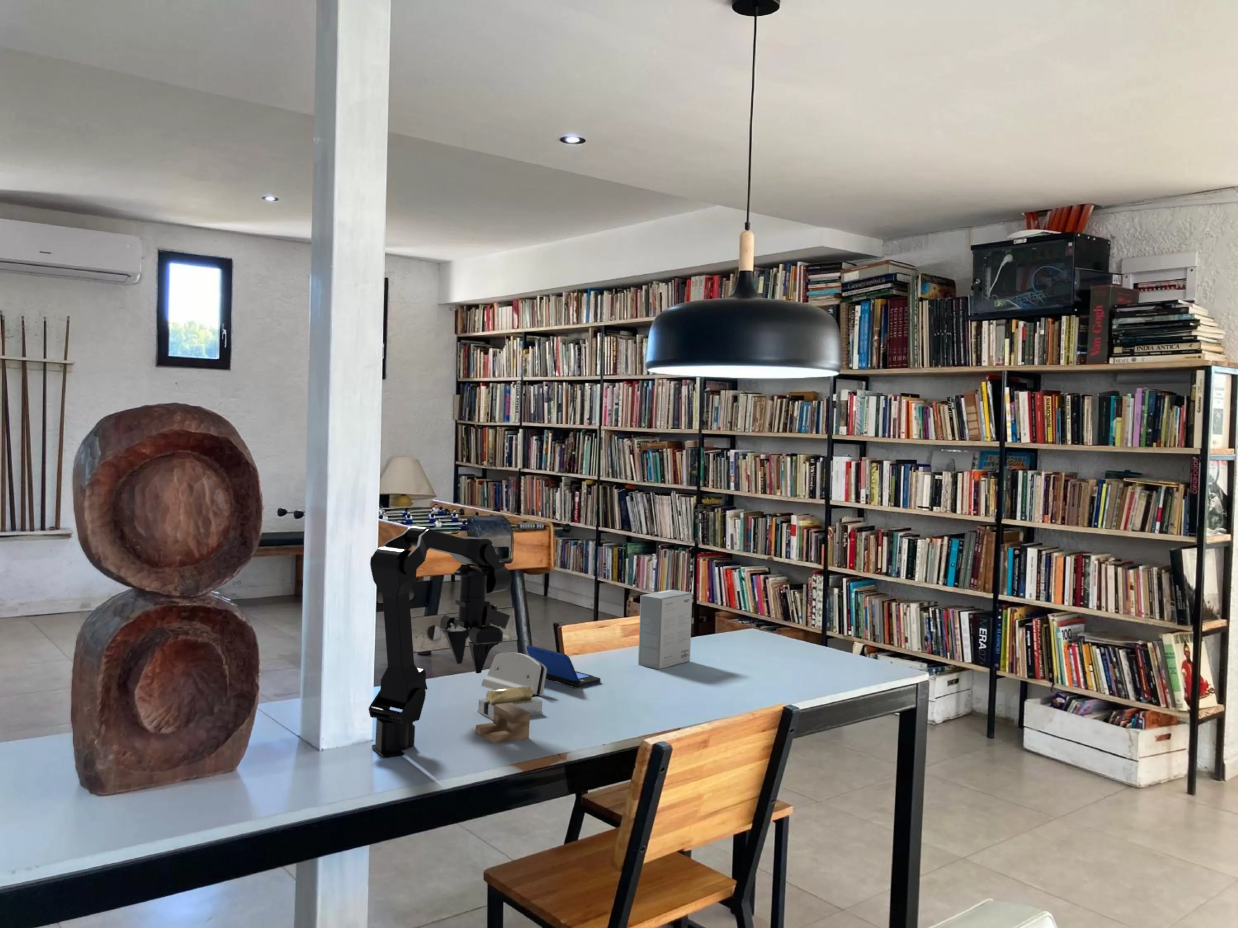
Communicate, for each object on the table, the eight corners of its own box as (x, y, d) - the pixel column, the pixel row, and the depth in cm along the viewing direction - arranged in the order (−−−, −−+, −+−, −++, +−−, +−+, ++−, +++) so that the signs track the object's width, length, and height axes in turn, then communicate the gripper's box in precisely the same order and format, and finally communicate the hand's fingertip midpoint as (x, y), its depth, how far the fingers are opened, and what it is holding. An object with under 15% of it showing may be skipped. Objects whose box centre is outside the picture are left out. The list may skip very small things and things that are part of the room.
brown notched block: (493, 747, 183) (495, 717, 183) (475, 735, 190) (476, 706, 189) (528, 741, 188) (530, 712, 188) (509, 730, 194) (511, 702, 194)
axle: (492, 705, 200) (492, 691, 200) (486, 703, 202) (486, 689, 203) (532, 700, 206) (532, 686, 206) (525, 698, 208) (525, 684, 208)
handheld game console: (602, 684, 237) (604, 648, 237) (566, 692, 227) (568, 655, 227) (559, 671, 248) (561, 637, 247) (523, 679, 238) (524, 643, 237)
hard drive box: (669, 656, 271) (672, 589, 271) (690, 661, 266) (694, 592, 266) (636, 664, 259) (640, 593, 259) (658, 669, 254) (662, 597, 254)
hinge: (479, 685, 229) (491, 645, 231) (492, 688, 232) (504, 649, 235) (528, 699, 219) (540, 657, 221) (541, 702, 222) (552, 661, 225)
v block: (494, 724, 198) (495, 707, 198) (477, 714, 204) (478, 698, 204) (542, 717, 205) (543, 701, 205) (524, 708, 211) (525, 692, 211)
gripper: (527, 600, 195) (523, 674, 195) (486, 587, 210) (482, 656, 210) (479, 603, 188) (475, 679, 188) (441, 589, 204) (437, 660, 204)
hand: (468, 668), depth 198 cm, fingers open, 9 cm apart
